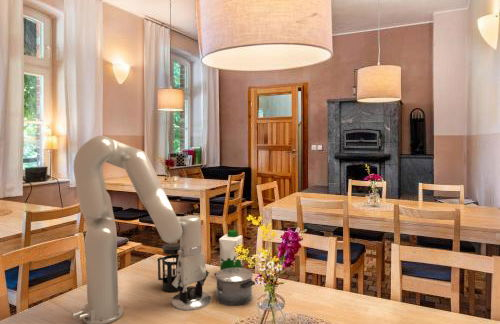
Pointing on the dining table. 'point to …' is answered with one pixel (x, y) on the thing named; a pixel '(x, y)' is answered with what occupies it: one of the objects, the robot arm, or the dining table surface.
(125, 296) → the dining table surface
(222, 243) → the milk carton
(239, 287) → the pot
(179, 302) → the lid
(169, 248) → the french press
